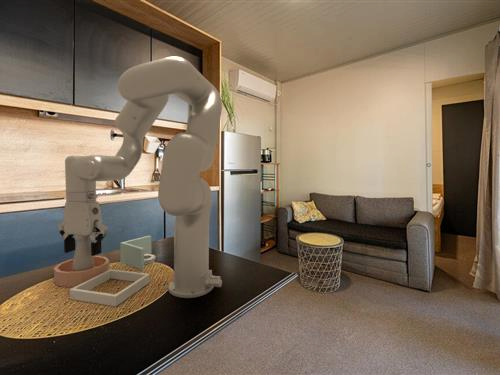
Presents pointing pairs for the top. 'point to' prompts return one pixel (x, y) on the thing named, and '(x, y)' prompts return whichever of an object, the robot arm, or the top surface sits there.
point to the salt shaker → (82, 254)
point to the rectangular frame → (85, 295)
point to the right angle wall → (137, 252)
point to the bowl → (79, 272)
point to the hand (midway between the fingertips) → (83, 252)
